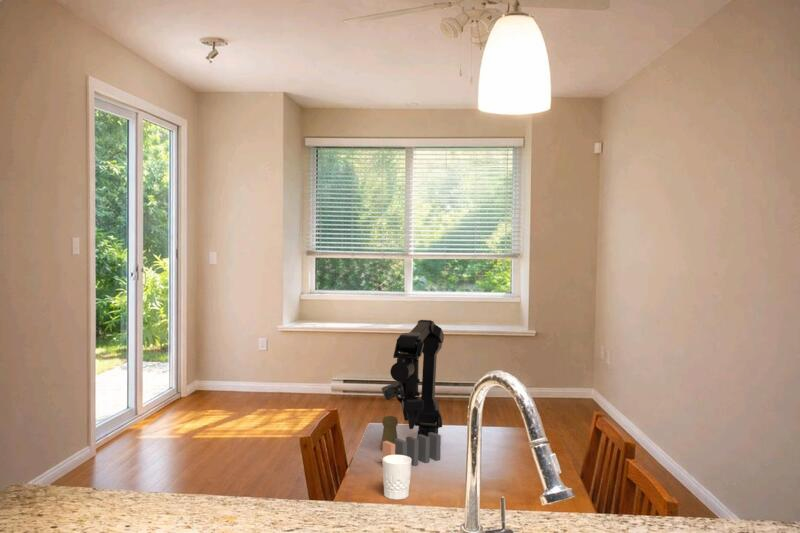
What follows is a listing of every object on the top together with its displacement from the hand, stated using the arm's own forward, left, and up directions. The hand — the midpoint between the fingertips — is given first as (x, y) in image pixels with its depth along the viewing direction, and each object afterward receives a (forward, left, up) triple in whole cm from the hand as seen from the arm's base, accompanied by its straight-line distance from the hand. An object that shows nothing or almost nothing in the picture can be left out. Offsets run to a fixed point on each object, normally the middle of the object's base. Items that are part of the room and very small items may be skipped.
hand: (408, 424), depth 211 cm
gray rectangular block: (-10, 0, -13) cm, 16 cm away
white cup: (+19, +19, -13) cm, 30 cm away
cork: (-4, -16, -13) cm, 21 cm away
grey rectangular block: (-1, 0, -13) cm, 13 cm away
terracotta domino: (+8, 0, -13) cm, 15 cm away
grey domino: (-6, 0, -13) cm, 14 cm away
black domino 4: (+3, 0, -13) cm, 13 cm away
